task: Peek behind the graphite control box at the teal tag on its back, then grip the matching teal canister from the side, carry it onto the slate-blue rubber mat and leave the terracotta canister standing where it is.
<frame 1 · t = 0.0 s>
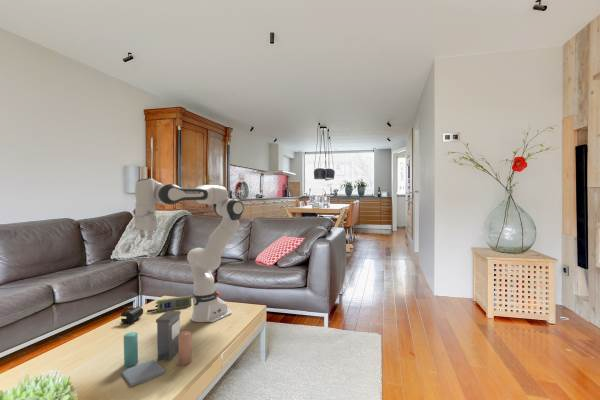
hand: (146, 238, 153), 48 cm above the table, tool pointing down, fingers open, 8 cm apart
terracotta canister: (185, 362, 128), on the table
handheld radio: (169, 309, 189), on the table
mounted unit: (169, 354, 134), on the table
teal canister: (131, 363, 127), on the table
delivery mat: (143, 373, 120), on the table
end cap: (132, 321, 172), on the table
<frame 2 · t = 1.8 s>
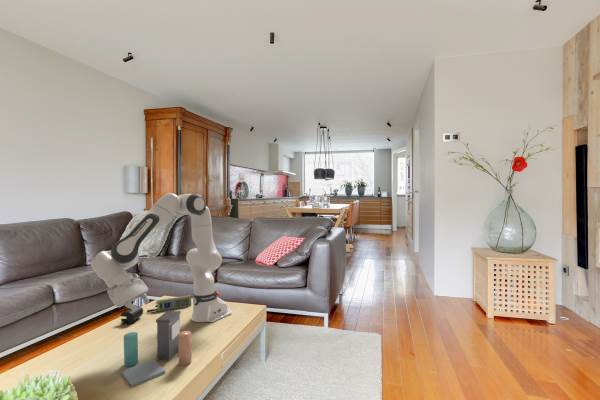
hand: (142, 306, 135), 21 cm above the table, tool tilted 45°, fingers open, 8 cm apart
nothing on the table moved.
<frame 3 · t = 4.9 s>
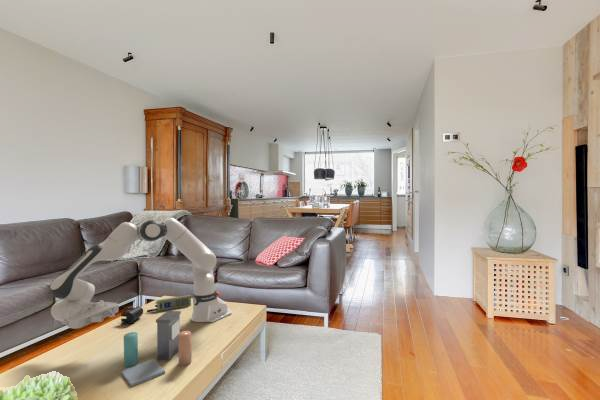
hand: (108, 317, 131), 18 cm above the table, tool horizontal, fingers open, 4 cm apart
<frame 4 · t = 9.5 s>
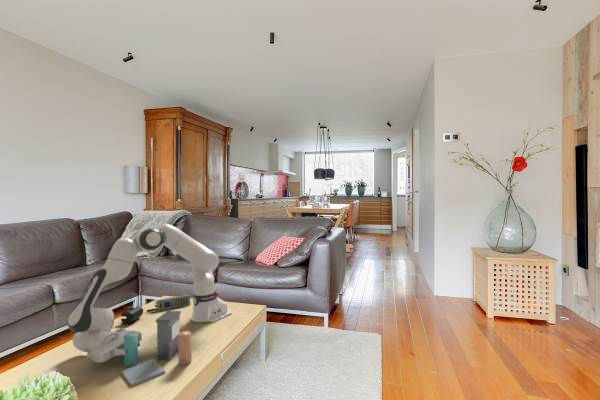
hand: (132, 348, 127), 7 cm above the table, tool horizontal, fingers closed on teal canister, 5 cm apart
teal canister: (131, 363, 127), on the table, touching gripper
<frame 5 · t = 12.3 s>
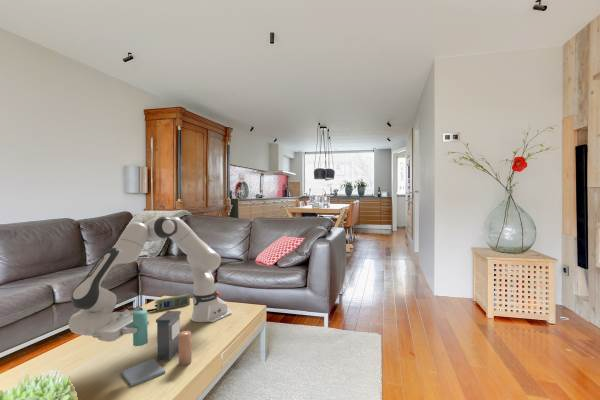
hand: (142, 326, 120), 18 cm above the table, tool horizontal, fingers closed on teal canister, 5 cm apart
teal canister: (140, 343, 120), point 12 cm above the table, touching gripper
when the fingers open (9 cm above the table, at t = 15.0 s): teal canister drops 1 cm, resting on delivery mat.
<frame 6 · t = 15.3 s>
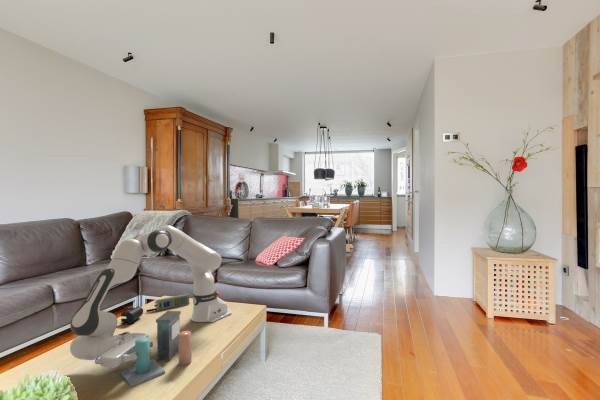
hand: (144, 350, 120), 9 cm above the table, tool horizontal, fingers open, 8 cm apart
teal canister: (143, 370, 120), point 1 cm above the table, touching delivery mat
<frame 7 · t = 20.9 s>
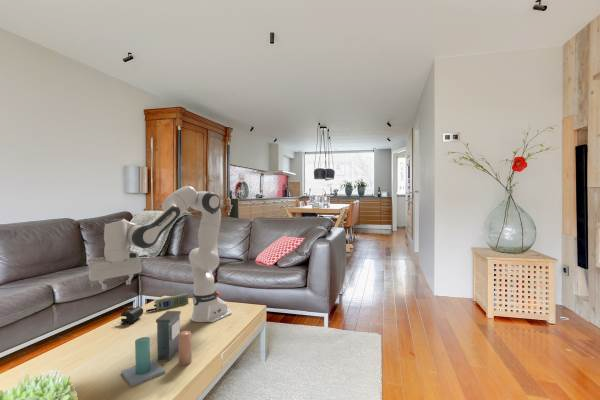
hand: (116, 286, 137), 29 cm above the table, tool pointing down, fingers open, 8 cm apart
at the end: teal canister inside the target area on the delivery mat (0.1 cm from its centre), point 1.0 cm above the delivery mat's base; teal canister tilted 1°; terracotta canister moved 0.0 cm from its start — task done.
